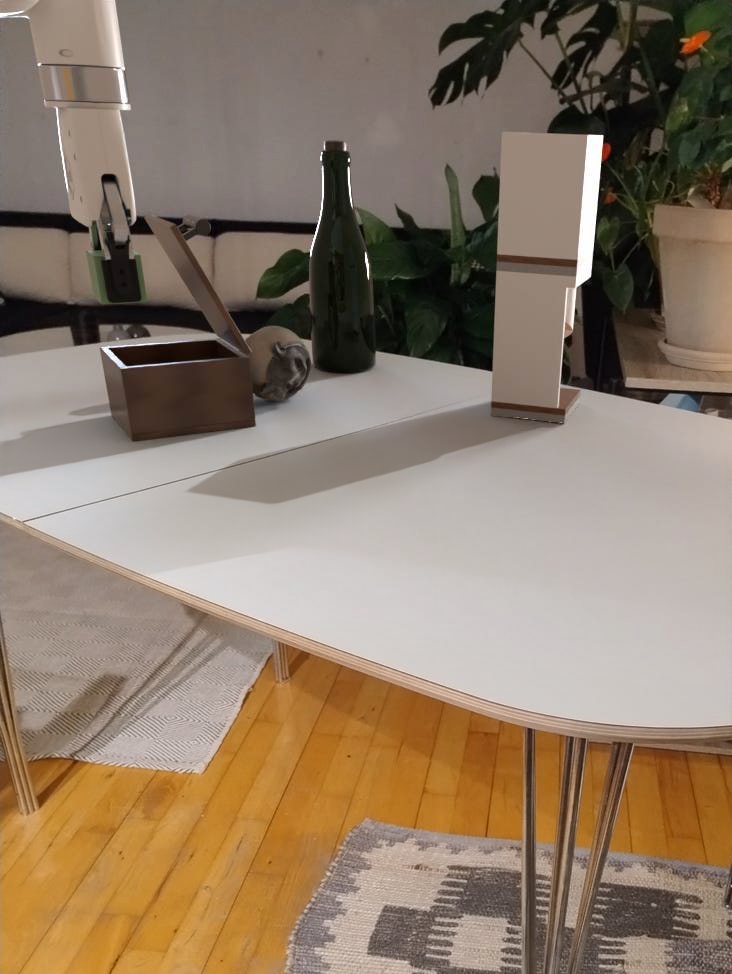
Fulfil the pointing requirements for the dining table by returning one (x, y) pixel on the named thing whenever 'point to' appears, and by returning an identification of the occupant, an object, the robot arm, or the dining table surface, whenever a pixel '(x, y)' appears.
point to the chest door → (196, 274)
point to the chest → (178, 388)
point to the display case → (541, 267)
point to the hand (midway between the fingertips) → (119, 295)
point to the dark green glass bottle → (340, 275)
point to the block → (98, 277)
